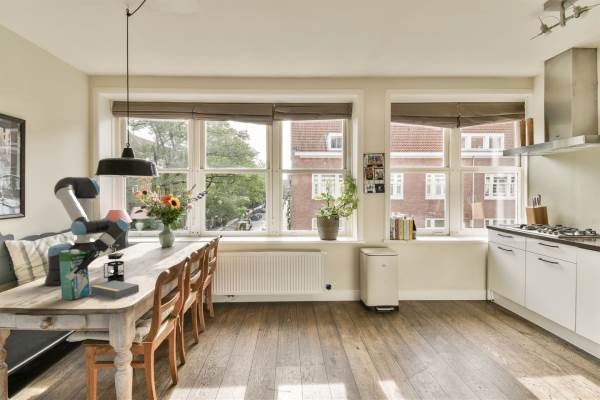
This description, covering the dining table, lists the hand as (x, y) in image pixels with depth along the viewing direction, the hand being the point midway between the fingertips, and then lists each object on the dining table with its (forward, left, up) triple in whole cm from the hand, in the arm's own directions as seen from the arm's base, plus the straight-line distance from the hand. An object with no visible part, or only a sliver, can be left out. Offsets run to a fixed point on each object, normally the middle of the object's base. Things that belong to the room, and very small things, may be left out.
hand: (68, 278), depth 170 cm
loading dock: (+10, +19, -12) cm, 25 cm away
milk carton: (-2, +5, -12) cm, 13 cm away
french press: (-10, +34, -12) cm, 38 cm away
